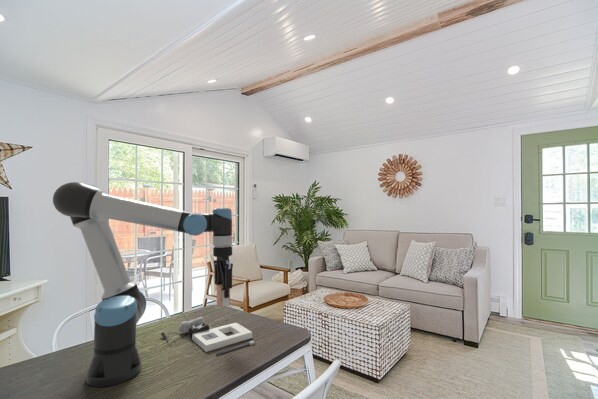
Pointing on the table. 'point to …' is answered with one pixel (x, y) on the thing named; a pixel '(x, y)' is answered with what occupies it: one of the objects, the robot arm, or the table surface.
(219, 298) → the block
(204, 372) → the table surface
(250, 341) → the cable
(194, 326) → the clip-on lamp
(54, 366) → the table surface
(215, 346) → the outlet plate
